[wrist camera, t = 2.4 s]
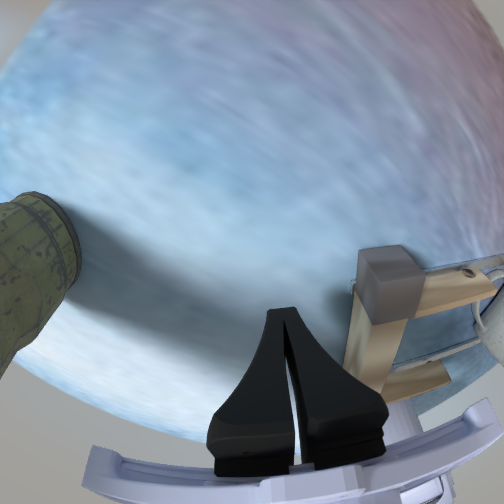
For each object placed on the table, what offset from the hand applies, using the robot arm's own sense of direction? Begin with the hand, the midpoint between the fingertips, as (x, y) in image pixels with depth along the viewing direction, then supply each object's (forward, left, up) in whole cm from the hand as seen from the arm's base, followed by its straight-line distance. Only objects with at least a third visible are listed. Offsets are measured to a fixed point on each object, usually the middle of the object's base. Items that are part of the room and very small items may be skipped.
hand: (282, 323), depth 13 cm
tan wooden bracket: (-6, -11, -5) cm, 14 cm away
